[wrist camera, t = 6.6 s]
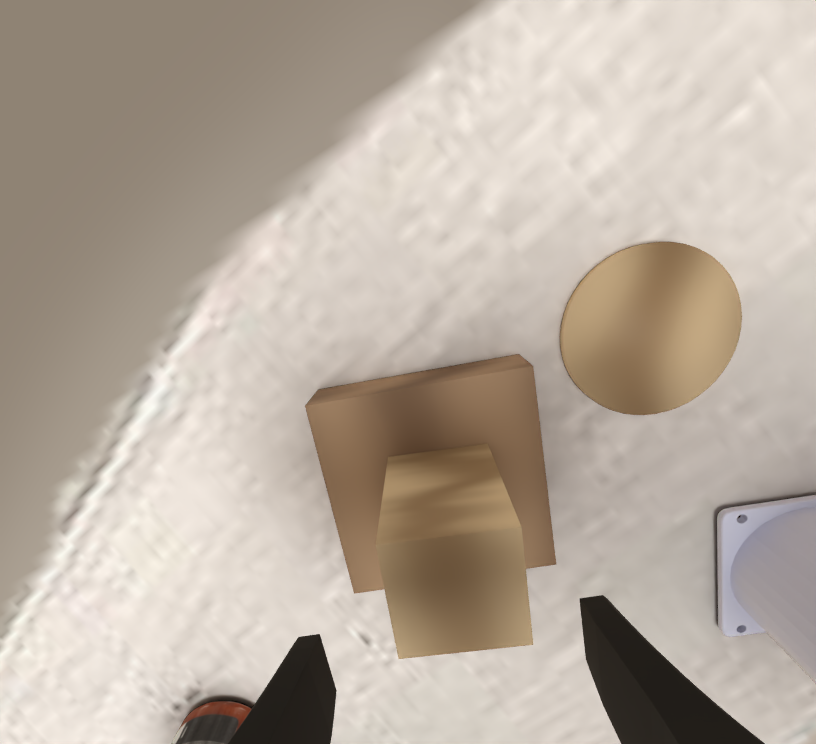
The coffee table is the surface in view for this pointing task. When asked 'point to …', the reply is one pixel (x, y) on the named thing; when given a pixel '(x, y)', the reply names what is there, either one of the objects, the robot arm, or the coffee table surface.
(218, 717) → the supplement bottle
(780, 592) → the robot arm
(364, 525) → the walnut slab
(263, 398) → the coffee table surface
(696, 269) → the cork coaster
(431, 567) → the oak block
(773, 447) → the coffee table surface
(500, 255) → the coffee table surface
